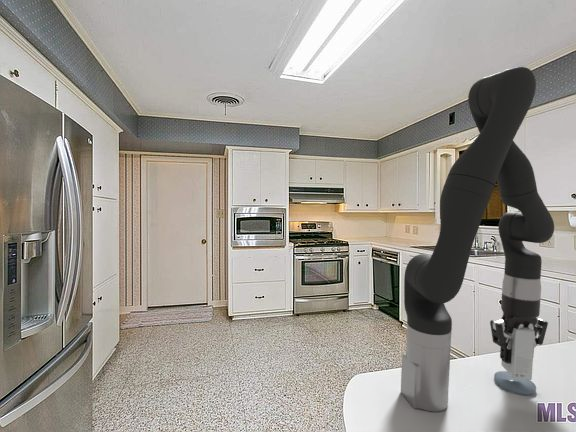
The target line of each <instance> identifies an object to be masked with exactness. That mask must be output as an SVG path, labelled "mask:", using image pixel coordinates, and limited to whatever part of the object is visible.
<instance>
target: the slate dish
mask: <svg viewBox="0 0 576 432" xmlns="http://www.w3.org/2000/svg"><path fill="white" fill-rule="evenodd" d="M493 377H494V378H493V381H494V382H496V383H495V384H496V385H497V386H498V387H500V388H501V389H502V390H504V391H507V392H509V393H512V394H515V395H518V396H522V397H523V396H525V397H528V396H529V397H530V396H534V395H535V394H536V391H537V387H536V386H537V385H536V384H535V383H534V382H533V381H532V379H531V380H528V379H519V378H512V376H511V375H510V374H509V373H508V372H507V371H506V370H505V371H504V370H503V371H502V370H501V371H497V372H495V373H494V375H493Z"/></svg>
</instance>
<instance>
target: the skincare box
mask: <svg viewBox="0 0 576 432" xmlns="http://www.w3.org/2000/svg"><path fill="white" fill-rule="evenodd" d="M508 334H509V335H510V336H512V334H514V341H513V343H512V348H511V349H512V354H511V363H509V364H507V363H505V362H504V361H502V360H501V366H502V367H503V369H504V370H505V371H506V372H508V373H509V374H510V375H511V376H512V378H519V379H528V380H531V381H532V380H533V377H532V376H533V363H534V356H533V350H534V351H535V348H534V334H535V331H533V330H532V329H529V328H526V327H523V329H516V328H513V332H512V334H511V333H509V332H508ZM507 342H508V338H507V340H506V343H507Z"/></svg>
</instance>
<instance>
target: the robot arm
mask: <svg viewBox="0 0 576 432" xmlns="http://www.w3.org/2000/svg"><path fill="white" fill-rule="evenodd" d="M536 87H537V81H536V77H535V74H534V73H533V71H532V70H531V69H530V68H528V67H525V66H518V67H517V66H516V67H511V68H508V69H505V70H502V71H500V72H495V73H493V74H491V75H487V76H484V77H482V78H480V79H478V80H476V82H473V84H472V86H470V89H469V91H468V95H467V97H468V98H467V101H468V107H469V110H470V114H471V116H472V118H473V121H474V123H475V126H476V127H477V131H478V132H479V134H478V136H477V137H476V138H475V139H474V140H473V142H471V144H470V145H469V146H467V148H466V149H465V150H464V151H463V152H462V154H460V155H459V157H458V158H457V159H456V161H455V162H454V163H453V164H452V166H451V167H450V169H449V173H448V174H447V176H446V179H445V182H444V185H443V187H442V191H441V194H440V198H439V217H440V218H439V219H440V227H439V234H438V238H437V241H436V244H435V246H434V250H433V252H432V254H428V253H420V254H417V255H415V256H413V257H412V258H411V259H410V260H409V262H408V263H407V265H406V267H405V271H404V277H403V278H404V279H403V280H404V281H403V282H404V283H403V285H404V286H403V288H404V291H403V293H404V296H403V297H404V300H403V303H404V310H405V313H406V319H407V320H406V323H407V324H406V339H405V340H406V342H405V352H404V353H403V352H402V354H401V371H400V372H401V375H400V377H401V378H400V393H401V394H402V395H403V396H404V398H405V399H406V400H407V402H408V403H409V404H410V405H411V406H412V408H413V409H420V410H424V411H426V412H427V411H428V412H435V413H436V412H441V411H444V410H445V409H447V407H448V405H449V389H450V369H451V368H450V367H451V364H450V363H451V351H452V350H451V346H452V345H451V344H452V329H453V328H452V326H453V321H452V317H451V315H450V313H449V312H448V310H447V307H446V305H445V303H449V302H451V301H452V300H454V298H455V297H456V296H457V294H459V292H460V290H461V288H462V285H463V282H464V280H465V276H466V275H465V274H466V271H467V267H468V263H469V260H470V255H471V252H472V247H473V244H474V241H475V239H476V237H477V234H478V231H479V228H480V225H481V222H482V219H483V216H484V214H485V211H486V209H487V207H488V204H489V202H490V200H491V197H492V194H493V192H494V189H495V186H496V183H497V187H498V192H499V195H500V200H501V202H502V203H503V204H504V205H505V206H508V207H510V208H513V209H517V210H518V211H514V210H511V211H510V210H509V211H507V212H505V213H503V215H502V216H501V218H500V219H499V220H498V221H499V222H498V233H499V239H500V242H501V246H502V250H503V254H504V271H503V272H504V274H503V278H502V287H501V303H500V304H501V305H500V308H501V310H502V317H501V319H499V320H494V319H491V320H490V321H489V325H490V331H491V338H492V342H493V343H494V344H496V345H497V346H499V347H500V351H499V358H500V359H501V362H502V361H504V362H505V363H507V364H509V363H511V354H512V349H511V348H512V343H513V341H514V334H512V332H513V328H516V329H523V327H526V328H529V329H532V330H533V331H535V334H534V350H533V357H534V353H535V348H536V347H537V345H540V346H541V345H543V344H544V340H545V337H546V336H545V335H546V332H547V329H548V325H549V322H548V321H546V320H544V319H542V318H539V316H540V313H541V300H542V299H541V298H542V297H541V296H542V284H541V283H542V282H541V281H542V280H541V278H542V277H541V275H542V262H543V261H542V257H541V255H540V254H538V253H536V252H534V251H532V250H530V249H527V247H525V245H524V243H523V242H527V243H532V244H533V243H534V244H543V243H544V244H545V243H546V242H549V240H550V239H551V238H552V237H553V235H554V232H555V223H554V220H553V217H552V215H551V213H550V211H549V209H548V208H547V207H546V204H545V203H544V202H543V199H542V198H541V196H540V195H539V192H538V187H537V182H536V181H537V180H536V177H535V171H534V168H533V166H532V164H531V162H530V160H529V158H528V157H527V156H526V154H525V153H524V151H522V150H521V148H520V147H519V145H517V144H516V142H515V141H514V139H515V137H516V135H517V133H518V131H519V130H520V128H521V125H522V123H523V122H524V120H525V117H526V116H527V114H528V111H529V109H530V108H531V105H532V103H533V100H534V98H535V94H536V90H537V89H536ZM508 332H509V333H511V334H512V336H510V335H509V334H508ZM537 335H538V336H537ZM507 338H508V342H507V343H506V340H507Z"/></svg>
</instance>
